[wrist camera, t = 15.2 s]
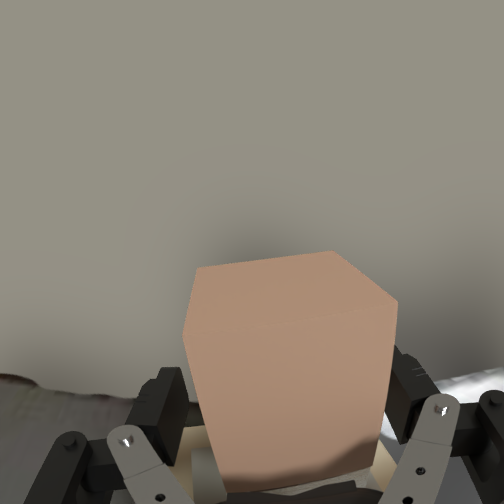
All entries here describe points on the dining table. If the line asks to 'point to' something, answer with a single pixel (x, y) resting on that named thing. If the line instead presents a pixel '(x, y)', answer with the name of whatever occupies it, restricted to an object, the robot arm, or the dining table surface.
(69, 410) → the dining table surface
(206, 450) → the stand
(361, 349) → the tapered tan block
